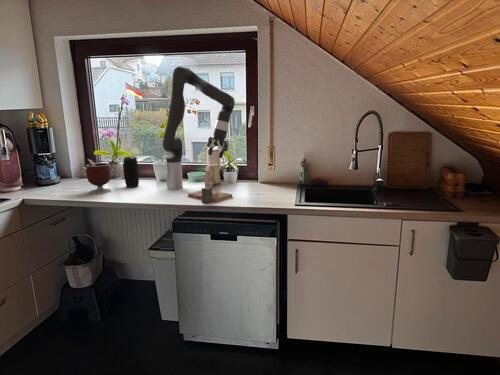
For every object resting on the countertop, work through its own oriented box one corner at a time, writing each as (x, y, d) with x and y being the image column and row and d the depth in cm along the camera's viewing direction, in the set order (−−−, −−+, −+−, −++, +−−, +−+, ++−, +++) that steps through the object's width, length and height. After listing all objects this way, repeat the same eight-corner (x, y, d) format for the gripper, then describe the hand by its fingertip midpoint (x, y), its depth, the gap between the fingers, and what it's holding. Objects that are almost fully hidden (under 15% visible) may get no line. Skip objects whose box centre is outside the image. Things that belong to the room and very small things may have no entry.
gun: (209, 190, 224) (209, 166, 222) (204, 189, 225) (203, 166, 223) (220, 185, 248) (220, 163, 246) (215, 185, 249) (215, 163, 247)
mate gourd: (117, 190, 226) (114, 159, 222) (98, 195, 214) (95, 162, 210) (100, 188, 233) (97, 157, 229) (81, 192, 222) (77, 160, 217)
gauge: (202, 202, 194) (201, 188, 192) (215, 199, 201) (214, 185, 200) (207, 204, 191) (206, 189, 189) (220, 200, 199) (219, 186, 197)
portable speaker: (125, 185, 240) (123, 156, 236) (140, 184, 242) (138, 156, 238) (124, 188, 232) (121, 158, 228) (139, 187, 234) (137, 157, 230)
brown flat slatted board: (187, 196, 207) (187, 193, 207) (205, 192, 218) (205, 189, 217) (215, 202, 194) (215, 199, 193) (232, 197, 204) (232, 194, 204)
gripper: (208, 126, 209) (202, 153, 211) (225, 129, 200) (219, 158, 202) (216, 128, 215) (210, 154, 216) (234, 132, 206) (228, 159, 208)
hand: (215, 156), depth 209 cm, fingers open, 8 cm apart
